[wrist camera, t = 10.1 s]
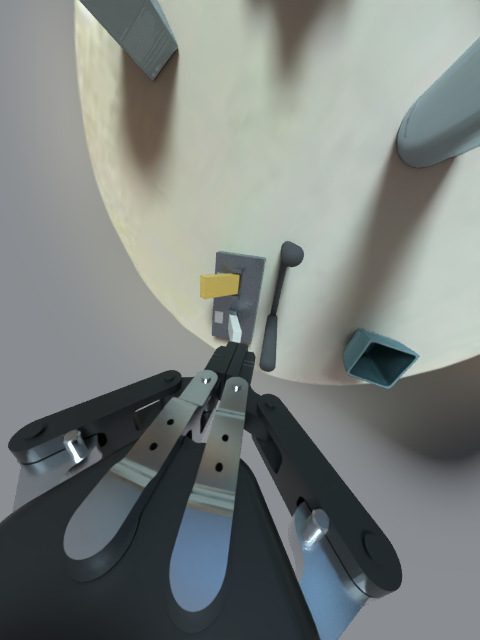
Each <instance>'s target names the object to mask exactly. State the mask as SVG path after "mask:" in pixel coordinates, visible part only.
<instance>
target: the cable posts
mask: <svg viewBox="0 0 480 640" xmlns="http://www.w3.org/2000/svg"><path fill="white" fill-rule="evenodd" d="M281 250H282V262H281V267H280V272H279V277H278V281H277V286H276V291H275V296H274V301H273V305H272V310H271V314H269V315H268V317H267V323H266V329H265V335H264V341H263V347H262V353H261V359H260V368H261V369H262V370H264V371H267V372H270V371H273V370H274V369H275V364H276V340H277V316H276V312H277V307H278V303H279V298H280V294H281V289H282V285H283V280H284V276H285V271H286V267H287V266H289V267H295V266H297V265H299V264H300V263H301V262H302V260H303V257H304V252H303V250H302V248H301V247H300V246H298V245H296V244H294V243H292V242H289V241H287V242H285V243H283V245H282V247H281Z"/></svg>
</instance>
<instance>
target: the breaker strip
mask: <svg viewBox="0 0 480 640" xmlns="http://www.w3.org/2000/svg"><path fill="white" fill-rule="evenodd" d="M265 260H266V258H264V257H257V256H250V255H243V254H236V253H229V252H222V251H220V252H216V269H215V274H230V273H236V274H238V275H240V277H239V286H238V294H234V295H228V296H221V297H215V298H214V306H213V325H212V336H217V337H221V338H226V339H230V338H229V332H228V323H229V314H235V315H237V318H238V321H239V324H240V328H241V331H242V334H241V341H240V342H245V343H250V344H251V340H252V336H253V330H254V324H255V319H256V313H257V307H258V301H259V295H260V289H261V283H262V277H263V271H264V265H265Z"/></svg>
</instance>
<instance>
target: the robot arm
mask: <svg viewBox="0 0 480 640" xmlns="http://www.w3.org/2000/svg"><path fill="white" fill-rule="evenodd" d="M479 146H480V37H479V38H478V39H477V40H476V41H475V42H474V43H473V44H472V45H471V46H470V47H469V48H468V49H467V50H466V51H465V52H464V53H463V54H462V55H461V56H460V57H459V58H458V59H457V60H456V61H455V62H454V63H453V65H452V66H451V67H450V68H449V69H448V70H447V71H446V72H445V73H444V74H443V75H442V76H441V77H439V78H438V79H437V80H436V81H435V82H434V83H433V84H432V85H431V87H430V88H429V89H428V90H427V91H426V92H425V93H424V94H423V95H422V96H421V97H420V98H419V99H418V100H417V101H416V102H415V103H414V104H413V105H412V107H411V108H410V109H409V111H408V112H407V114H406V116H405V117H404V119H403V121H402V124H401V126H400V129H399V133H398V139H397V147H398V152H399V155H400V157H401V159H402V160H403V161H404V162H405V163H406V164H408V165H410V166H413V167H420V168H422V167H428V166H431V165H434V164H437V163H439V162H441V161H443V160H445V159H448V158H450V157H457V156H459V155H461V154H464V153H466V152H468V151H470V150H472V149H475V148H477V147H479ZM255 358H256V357H255V355H254V353H253V352H249V351H248V345H247V344H242V343H237V342H233V341H229V342H228V344H227V346H226V347H225V346H220V347H219V348H217V349H216V351H215V352H214V354H213V356H212V358H211V359H210V361H209V363H208V364H207V366H206V368H205V369H204V370H203V371H200V372H198V373H197V374H196V375H195V377H183V378H182V377H181V374H180V373H179V372H177V371H174V370H169V371H165V372H162V373H160V374H157V375H155V376H152V377H150V378H147V379H144V380H141V381H139V382H136V383H133V384H131V385H128V386H126V387H123V388H120V389H118V390H115V391H112V392H110V393H107V394H104V395H102V396H99V397H97V398H94V399H91V400H89V401H86V402H83V403H81V404H78V405H75V406H73V407H70V408H68V409H65V410H62V411H60V412H57V413H54V414H52V415H49V416H46V417H44V418H41V419H39V420H36V421H34V422H32V423H30V424H28V425H26V426H25V427H23V428H21V429H20V430H19V431H18V432H17V433H16V434H15V435H14V436H13V437H12V438H11V439H10V441H9V444H8V448H9V450H10V451H11V452H12V453H13V455H14V456H15V457H16V458H17V462H18V463H19V464H20V466H21V469H20V475H19V481H18V486H17V491H16V496H15V502H14V507H13V513H11V514H10V515H9V516H8V517H7V518H5V519H4V520H3V521H2V522H1V523H0V640H337V639H338V638H339V637H340V636H341V634H342V633H343V632H344V630H345V629H346V628H347V626H348V625H349V623H350V622H351V621H352V620H353V618H354V617H355V616H356V614H357V613H358V612H359V610H360V609H361V608H362V607H363V606H365V605H367V604H369V603H371V602H373V601H375V600H377V599H379V598H381V597H383V596H385V595H387V594H389V593H392V592H393V591H395V590H397V589H398V588H399V587H400V585H401V582H402V570H401V565H400V562H399V559H398V556H397V554H396V551H395V550H394V548H393V546H392V544H391V542H390V541H389V539H388V538H387V537H386V535H385V534H384V533H383V531H382V530H381V529H380V528H379V526H378V525H377V524H376V522H375V521H374V520H373V519H372V517H371V516H370V515H369V513H368V512H367V511H366V510H365V508H364V507H363V506H362V505H361V503H360V502H359V501H358V499H357V498H356V497H355V496H354V494H353V493H352V492H351V490H350V489H349V488H348V486H347V485H346V484H345V483H344V481H343V480H342V479H341V477H340V476H339V475H338V474H337V472H336V471H335V470H334V468H333V467H332V466H331V464H330V463H329V462H328V461H327V459H326V458H325V457H324V455H323V454H322V453H321V452H320V450H319V449H318V448H317V446H316V445H315V444H314V443H313V441H312V440H311V439H310V437H309V436H308V435H307V433H306V432H305V431H304V430H303V428H302V427H301V426H300V425H299V423H298V422H297V421H296V420H295V418H294V417H293V416H292V414H291V413H290V412H289V411H288V409H287V408H286V406H285V405H284V404H283V403H282V401H281V400H280V399H279V398H278V397H276V396H275V395H272V394H264V395H262V396H260V395H259V394H257V393H255V392H254V391H253V390H252V388H251V386H250V384H251V379H252V375H253V369H254V364H255ZM157 400H159V401H158V402H156V403H154V404H152V405H150V406H148V407H146V408H144V409H141V410H139V411H137V412H135V411H136V410H138V409H139V408H142V407H144V406H146V405H148V404H150V403H152V402H154V401H157ZM218 400H220V405H219V408H218V410H217V411H216V413H215V416H214V419H213V422H212V426H211V429H210V433H209V436H208V440H207V443H201V440H202V437H203V435H204V433H205V431H206V429H207V427H208V425H209V423H210V420H211V419H212V417H213V414H214V412H215V410H216V405H217V403H218ZM243 429H245V430H246V431H248V432H249V433H251V434H252V439H253V441H254V443H255V445H256V447H257V449H258V451H259V453H260V455H261V457H262V459H263V460H264V463H265V465H266V467H267V469H268V470H269V472H270V474H271V476H272V478H273V480H274V482H275V484H276V486H277V488H278V490H279V492H280V494H281V496H282V498H283V500H284V502H285V504H286V506H287V508H288V510H289V512H290V514H291V516H292V519H291V521H290V523H289V528H288V536H289V541H290V545H291V548H292V551H293V554H294V558H295V563H296V575H295V573H294V570H293V568H292V565H291V563H290V560H289V558H288V556H287V553H286V551H285V548H284V546H283V543H282V541H281V538H280V536H279V534H278V531H277V529H276V526H275V524H274V522H273V519H272V517H271V514H270V512H269V509H268V507H267V504H266V502H265V499H264V497H263V495H262V492H261V490H260V487H259V485H258V483H257V480H256V478H255V476H254V474H253V472H252V471H251V469H250V468H249V466H248V465H247V464H246V463H245V462H244V461H243V460H242V459H241V458H240V453H241V444H242V437H243ZM104 457H105V458H104Z"/></svg>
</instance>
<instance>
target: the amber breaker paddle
mask: <svg viewBox="0 0 480 640" xmlns="http://www.w3.org/2000/svg"><path fill="white" fill-rule="evenodd" d="M239 277H240V275H238V274H236V273H230V274H214V275H200V297H202V298H203V299H209V298H215V297H221V296H228V295H234V294H238V286H239Z"/></svg>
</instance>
